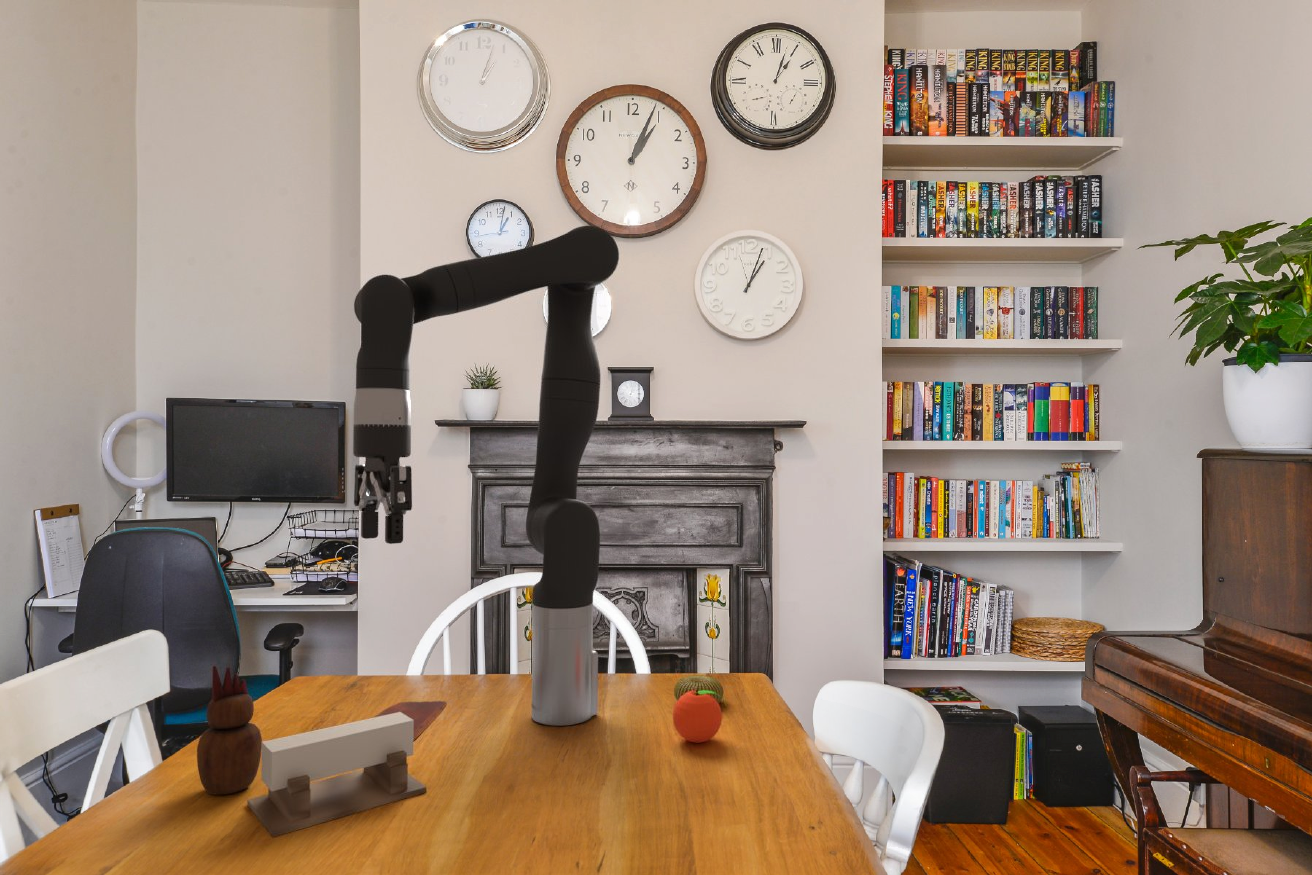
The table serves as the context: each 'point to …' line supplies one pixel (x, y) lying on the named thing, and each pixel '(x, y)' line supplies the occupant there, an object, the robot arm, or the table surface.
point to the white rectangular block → (335, 749)
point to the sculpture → (698, 686)
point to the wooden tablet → (417, 713)
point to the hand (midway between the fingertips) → (381, 540)
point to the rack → (335, 795)
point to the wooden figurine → (229, 738)
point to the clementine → (697, 716)
